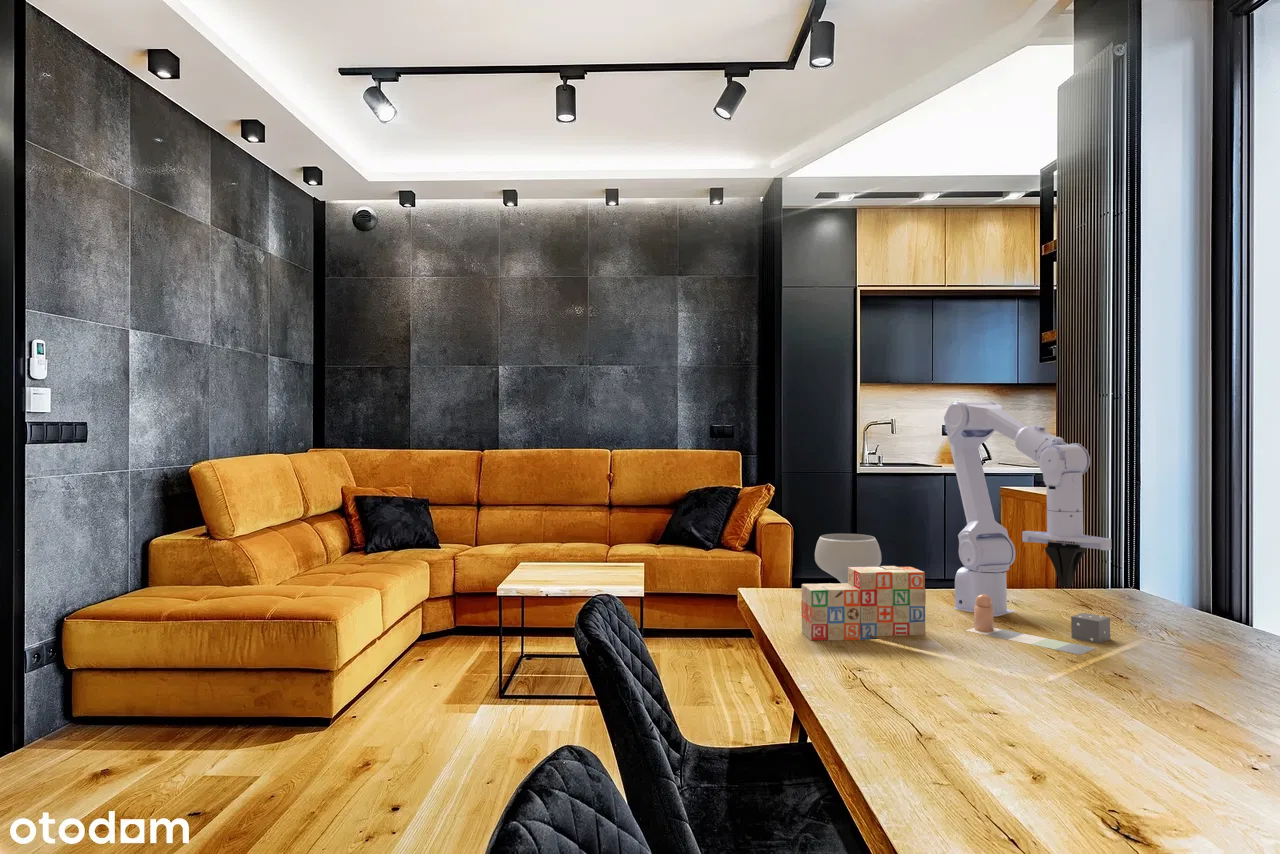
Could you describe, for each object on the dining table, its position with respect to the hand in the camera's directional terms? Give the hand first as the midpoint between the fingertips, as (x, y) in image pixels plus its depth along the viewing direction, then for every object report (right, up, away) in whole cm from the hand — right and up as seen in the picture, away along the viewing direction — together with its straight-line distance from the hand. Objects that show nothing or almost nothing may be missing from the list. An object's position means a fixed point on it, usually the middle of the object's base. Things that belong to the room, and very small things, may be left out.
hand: (1065, 585), depth 136 cm
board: (-8, -9, -3) cm, 13 cm away
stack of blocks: (-36, -10, +3) cm, 37 cm away
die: (+3, -9, -3) cm, 10 cm away
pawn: (-13, -9, +3) cm, 16 cm away
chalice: (-32, -10, +27) cm, 43 cm away
